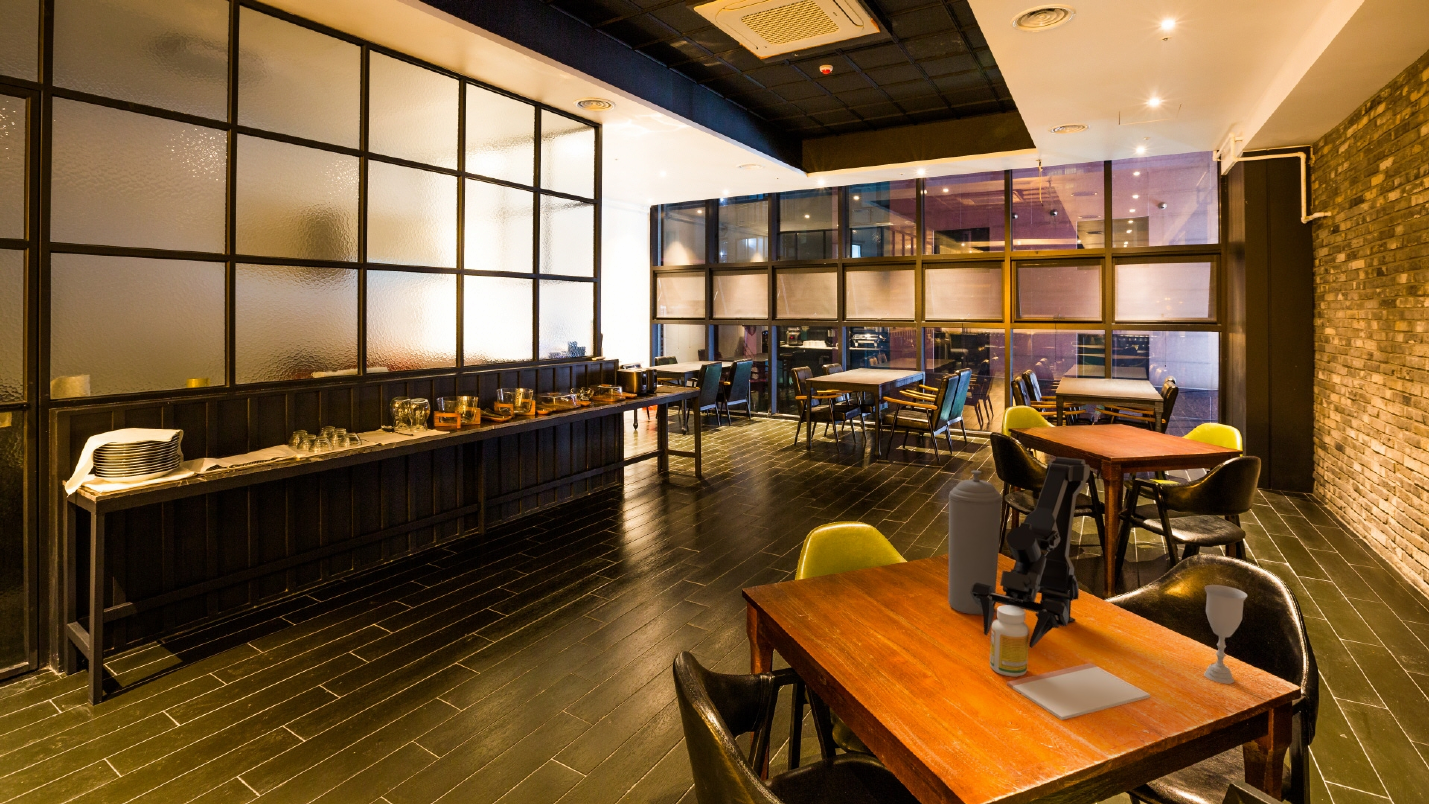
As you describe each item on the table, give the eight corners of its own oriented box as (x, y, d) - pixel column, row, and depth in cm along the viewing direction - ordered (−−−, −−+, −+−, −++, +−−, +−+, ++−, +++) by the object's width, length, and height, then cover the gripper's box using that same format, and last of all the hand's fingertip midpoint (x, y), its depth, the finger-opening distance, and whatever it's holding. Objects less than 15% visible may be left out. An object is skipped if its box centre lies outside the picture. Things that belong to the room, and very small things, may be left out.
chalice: (1189, 669, 149) (1195, 585, 147) (1220, 667, 149) (1227, 584, 147) (1217, 687, 142) (1223, 599, 140) (1249, 685, 142) (1256, 597, 140)
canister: (946, 615, 177) (951, 475, 173) (943, 596, 189) (947, 464, 185) (1002, 619, 174) (1007, 477, 170) (994, 600, 186) (999, 467, 182)
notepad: (1090, 665, 151) (1090, 662, 150) (1149, 697, 138) (1150, 694, 138) (1006, 684, 143) (1006, 681, 143) (1061, 720, 130) (1061, 716, 130)
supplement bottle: (982, 665, 151) (984, 606, 150) (1007, 658, 154) (1009, 600, 153) (1009, 681, 145) (1012, 619, 143) (1035, 673, 148) (1037, 613, 146)
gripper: (974, 546, 156) (952, 611, 149) (1067, 564, 144) (1048, 636, 137) (986, 571, 163) (966, 634, 155) (1076, 591, 151) (1058, 660, 143)
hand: (1007, 640), depth 148 cm, fingers open, 9 cm apart
